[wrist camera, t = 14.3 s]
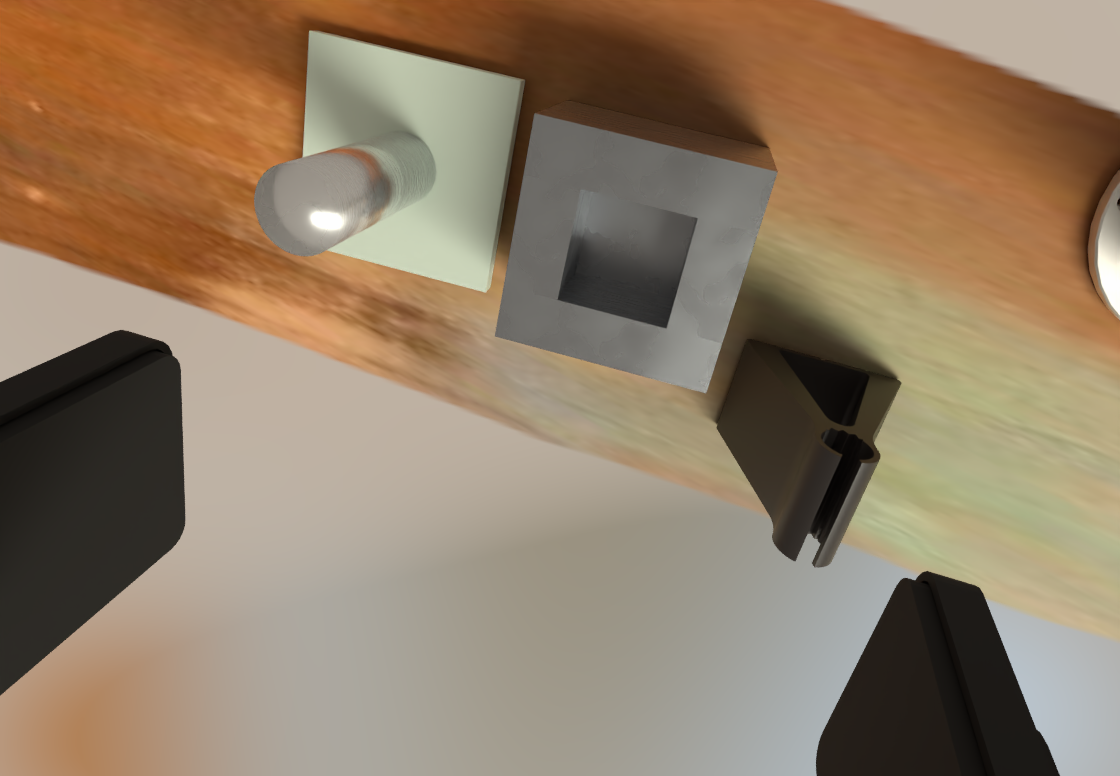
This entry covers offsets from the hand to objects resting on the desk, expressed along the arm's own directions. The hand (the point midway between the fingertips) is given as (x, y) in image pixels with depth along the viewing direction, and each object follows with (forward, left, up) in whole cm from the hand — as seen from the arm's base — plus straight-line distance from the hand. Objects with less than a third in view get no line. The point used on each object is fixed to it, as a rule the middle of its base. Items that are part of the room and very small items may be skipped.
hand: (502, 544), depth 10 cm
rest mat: (+15, +4, -36) cm, 39 cm away
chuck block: (+1, +4, -36) cm, 36 cm away
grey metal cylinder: (+15, +4, -35) cm, 38 cm away
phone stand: (-11, +12, -36) cm, 40 cm away
